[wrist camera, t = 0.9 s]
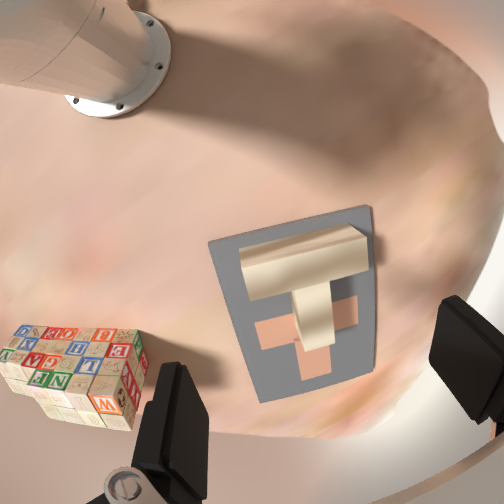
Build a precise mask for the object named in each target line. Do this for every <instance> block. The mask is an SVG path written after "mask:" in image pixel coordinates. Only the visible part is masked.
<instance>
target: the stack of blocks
mask: <svg viewBox="0 0 504 504" xmlns="http://www.w3.org/2000/svg"><path fill="white" fill-rule="evenodd" d="M148 365H149V363H148V360H147V357H146V354H145V351H144V348H143V345H142V342H141V338H140V335H139V331H138V330H137V329H102V328H98V329H97V328H80V329H78V328H51V327H50V328H48V327H43V326H28V325H21V326H20V328H19V329H18V330H17V331H16V332H15V333H14V335H13V336H12V337H11V338H10V339H9V340H8V342H7V343H6V344H5V345H4V347H3V349H2V351H1V352H0V372H1V374H2V375H3V377H4V378H5V379H6V381H7V383H8V385H9V386H10V388H11V389H12V390H13V392H15V393H20V394H24V395H27V396H30V397H34V398H35V399H36V401H37V402H38V403H39V405H40V406H41V407H42V409H43V410H44V412H45V413H46V414H47V416H48V417H49V418H53V419H57V420H61V421H68V422H72V423H78V424H86V425H90V426H97V427H104V428H110V429H117V430H125V431H131V430H132V427H133V423H134V418H135V414H136V411H137V410H138V407H139V402H140V397H141V392H142V387H143V383H144V379H145V376H146V373H147V369H148Z"/></svg>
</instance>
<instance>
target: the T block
mask: <svg viewBox="0 0 504 504" xmlns="http://www.w3.org/2000/svg"><path fill="white" fill-rule="evenodd" d="M239 253H240V262H241V269H242V273H243V277H244V280H245V284H246V288H247V291H248V295H249V299H250V301H254V300H258V299H262V298H266V297H270V296H274V295H278V294H282V293H286V292H289V294H290V299H291V304H292V310H293V315H294V320H295V326H296V329H297V332H298V334H299V337H300V340H301V343H302V345H303V348H304V351H305V352H306V351H310V350H314V349H317V348H321V347H324V346H328V345H331V344H334V343H335V334H334V322H333V311H332V301H331V292H330V283H329V281H332V280H335V279H339V278H343V277H346V276H350V275H353V274H357V273H360V272H364V271H367V270H369V265H368V249H367V237H366V236H364V235H363V234H362V233H360V232H359V231H358V230H356V229H355V228H354V227H352V226H351V225H349V224H348V223H344V224H340V225H335V226H331V227H327V228H323V229H319V230H315V231H310V232H306V233H302V234H298V235H294V236H290V237H285V238H281V239H277V240H273V241H269V242H265V243H261V244H257V245H252V246H248V247H244V248H240V249H239Z"/></svg>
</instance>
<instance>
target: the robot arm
mask: <svg viewBox="0 0 504 504" xmlns="http://www.w3.org/2000/svg"><path fill="white" fill-rule="evenodd" d="M151 25H153V26H151ZM150 26H151V27H150ZM170 60H171V42H170V39H169V36H168V33H167V32H166V30H165V28H164V27H163V25H162V24H161V23H160V22H159V21H158V20H157V19H155V18H154V17H152V16H151V15H149V14H146V13H143V12H139V11H132V10H131V9H130V7H129V6H128V5H127V3H126V2H125V1H124V0H0V84H5V85H12V86H19V87H25V88H31V89H36V90H42V91H47V92H52V93H57V94H61V95H65V97H66V98H67V100H68V102H69V103H70V104H71V105H72V107H73V108H74V109H76V110H77V111H79V112H80V113H82V114H85V115H87V116H91V117H97V118H109V117H116V116H119V115H122V114H125V113H128V112H129V111H131V110H133V109H135V108H137V107H138V106H140V105H141V104H142V103H144V102H145V101H146V100H147V99H148V98H149V97H150V96H151V95H152V94H153V93H154V92H155V91H156V90H157V88H158V87H159V86H160V84H161V83H162V81H163V79H164V77H165V75H166V73H167V71H168V68H169V64H170ZM160 66H163V68H162V69H161V70H159V67H160ZM78 101H79V103H78ZM122 105H124V107H123V109H121V106H122ZM429 362H430V365H431V366H432V367H433V369H434V370H435V371H436V372H437V373H438V375H439V376H440V378H441V379H442V380H443V382H444V383H445V384H446V386H447V387H448V388H449V390H450V391H451V392H452V394H453V395H454V396H455V398H456V399H457V401H458V402H459V403H460V405H461V406H462V407H463V409H464V410H465V412H466V413H467V415H468V416H469V417H470V419H471V420H475V421H476V423H477V424H478V425H479V424H480V423H482V422H484V421H485V420H486V419H488V417H489V416H490V417H491V419H492V423H491V432H490V440H489V443H487V444H486V445H484V446H483V447H482V448H480V449H479V450H477V451H476V452H474V453H472V454H471V455H469V456H468V457H466V458H464V459H463V460H461V461H460V462H458V463H456V464H455V465H452V466H451V467H449V468H447V469H445V470H444V471H442V472H440V473H438V474H436V475H434V476H432V477H430V478H428V479H426V480H424V481H422V482H420V483H418V484H416V485H414V486H411V487H409V488H407V489H405V490H402V491H400V492H398V493H395V494H393V495H390V496H388V497H385V498H382V499H380V500H377V501H374V502H371V503H369V504H504V335H503V334H502V333H501V332H500V331H499V330H498V329H496V328H495V327H494V326H493V325H492V324H491V323H490V322H488V321H487V320H486V319H485V318H484V317H483V316H482V315H480V314H479V313H478V312H477V311H476V310H474V309H473V308H472V307H471V306H470V305H468V304H467V303H466V302H465V301H464V300H462V299H461V298H460V297H459V296H457V295H453V296H450V297H448V298H445V299H443V300H442V302H441V304H440V305H439V309H438V314H437V320H436V325H435V331H434V335H433V340H432V345H431V349H430V353H429ZM208 436H209V416H208V413H207V410H206V408H205V406H204V404H203V402H202V400H201V398H200V396H199V393H198V391H197V389H196V387H195V385H194V383H193V380H192V378H191V376H190V374H189V371H188V369H187V367H186V366H185V365H181V364H180V363H179V362H170V363H163V364H162V365H161V368H160V372H159V376H158V380H157V384H156V388H155V392H154V396H153V400H152V401H148V402H147V403H146V405H145V408H144V412H143V416H142V421H141V424H140V428H139V433H138V437H137V441H136V446H135V450H134V455H133V459H132V464H131V467H120V468H118V469H116V470H114V471H113V472H111V473H110V474H109V475H108V476H107V478H106V479H105V482H104V492H105V493H103V494H102V495H100V496H98V497H97V498H95V499H93V500H92V501H90V502H88V503H86V504H202V500H205V499H206V498H207V470H208Z"/></svg>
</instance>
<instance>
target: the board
mask: <svg viewBox="0 0 504 504" xmlns="http://www.w3.org/2000/svg"><path fill="white" fill-rule="evenodd" d="M344 223H348V224H349V225H351V226H352V227H354V228H355V229H356V230H358V231H359V232H360V233H362V234H363V235H364V236H366V237H367V249H368V265H369V270H367V271H364V272H360V273H357V274H353V275H350V276H346V277H343V278H339V279H335V280H332V281H329V283H330V292H331V301H332V311H333V322H334V334H335V343H334V344H331V345H328V346H324V347H321V348H317V349H314V350H310V351H306V352H305V351H304V348H303V345H302V343H301V340H300V337H299V334H298V332H297V329H296V326H295V320H294V315H293V310H292V304H291V299H290V294H289V292H286V293H282V294H278V295H274V296H270V297H266V298H262V299H258V300H254V301H250V299H249V295H248V291H247V288H246V284H245V280H244V277H243V273H242V269H241V262H240V253H239V249H240V248H244V247H248V246H252V245H257V244H261V243H265V242H269V241H273V240H277V239H281V238H285V237H290V236H294V235H298V234H302V233H306V232H310V231H315V230H319V229H323V228H327V227H331V226H335V225H340V224H344ZM208 246H209V250H210V253H211V257H212V260H213V263H214V266H215V270H216V273H217V276H218V279H219V283H220V286H221V289H222V292H223V295H224V299H225V302H226V305H227V308H228V311H229V314H230V317H231V320H232V323H233V326H234V329H235V333H236V336H237V339H238V342H239V344H240V347H241V350H242V353H243V356H244V359H245V362H246V365H247V368H248V371H249V374H250V377H251V379H252V382H253V385H254V388H255V391H256V393H257V396H258V399H259V402H260V403H264V402H269V401H273V400H278V399H282V398H286V397H290V396H294V395H298V394H302V393H306V392H310V391H313V390H317V389H320V388H324V387H327V386H330V385H334V384H337V383H340V382H343V381H346V380H350V379H353V378H356V377H358V376H361V375H364V374H367V373H370V372H373V361H374V339H375V277H374V254H373V238H372V225H371V214H370V206H368V205H361V206H357V207H352V208H348V209H343V210H339V211H334V212H330V213H326V214H321V215H317V216H312V217H308V218H304V219H300V220H295V221H291V222H287V223H283V224H278V225H274V226H270V227H266V228H262V229H257V230H253V231H249V232H245V233H241V234H237V235H233V236H229V237H225V238H221V239H217V240H213V241H209V242H208Z"/></svg>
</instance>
